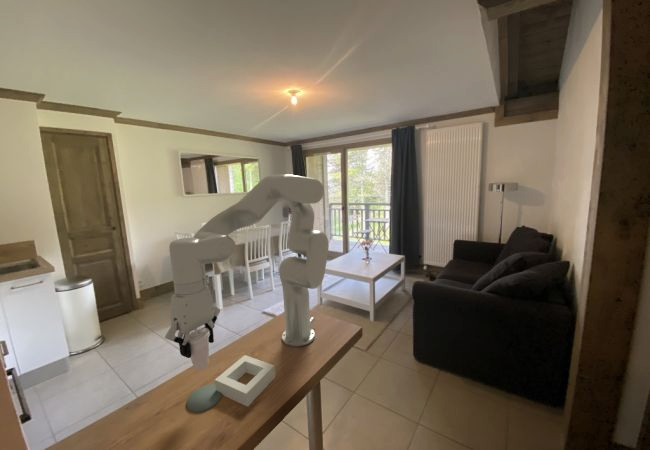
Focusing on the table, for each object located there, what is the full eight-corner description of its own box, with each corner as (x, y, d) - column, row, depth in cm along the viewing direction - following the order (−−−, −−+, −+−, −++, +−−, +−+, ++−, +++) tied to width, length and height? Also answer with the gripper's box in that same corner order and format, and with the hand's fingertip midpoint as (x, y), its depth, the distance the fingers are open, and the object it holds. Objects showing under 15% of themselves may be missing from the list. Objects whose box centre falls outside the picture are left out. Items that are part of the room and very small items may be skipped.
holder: (245, 365, 88) (244, 354, 87) (275, 377, 82) (274, 365, 81) (216, 391, 77) (214, 379, 76) (247, 406, 72) (246, 393, 71)
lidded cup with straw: (186, 376, 70) (177, 328, 67) (191, 360, 76) (183, 315, 73) (212, 370, 71) (205, 323, 68) (215, 355, 77) (209, 311, 75)
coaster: (207, 382, 81) (207, 380, 81) (228, 392, 77) (228, 390, 77) (179, 404, 73) (179, 402, 73) (202, 417, 69) (201, 415, 69)
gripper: (208, 273, 79) (214, 329, 82) (147, 296, 63) (157, 364, 66) (227, 276, 75) (232, 335, 78) (167, 301, 60) (176, 373, 63)
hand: (198, 348), depth 72 cm, fingers closed on lidded cup with straw, 6 cm apart
